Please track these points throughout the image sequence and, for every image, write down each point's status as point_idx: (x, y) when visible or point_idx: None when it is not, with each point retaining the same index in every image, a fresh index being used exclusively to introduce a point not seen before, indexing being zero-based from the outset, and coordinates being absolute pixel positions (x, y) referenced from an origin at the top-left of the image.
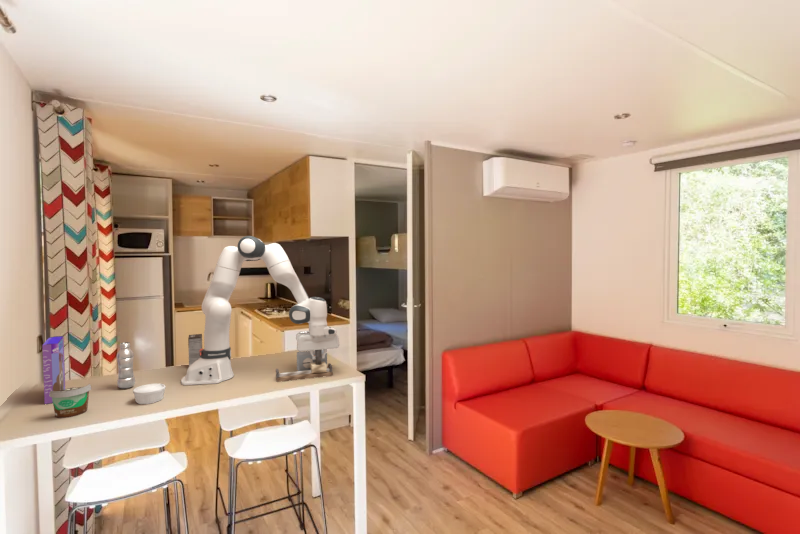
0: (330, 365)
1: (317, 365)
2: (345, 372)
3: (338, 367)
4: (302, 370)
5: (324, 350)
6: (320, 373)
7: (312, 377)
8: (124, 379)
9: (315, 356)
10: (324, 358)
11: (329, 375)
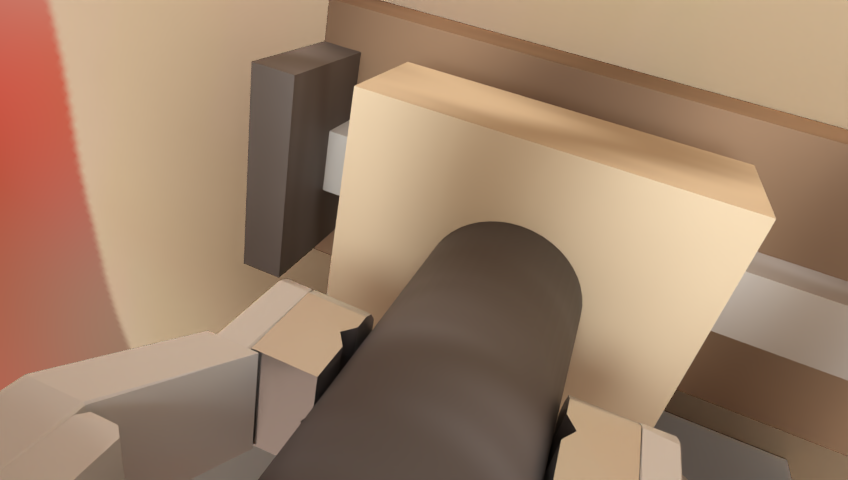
0: (274, 129)
1: (590, 194)
2: (145, 44)
3: (188, 304)
4: (728, 474)
5: (70, 461)
6: (552, 104)
7: (748, 103)
8: None
9: (560, 461)
10: None
11: (409, 10)
